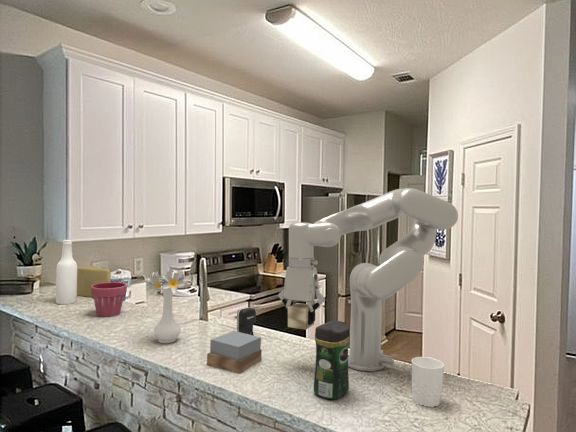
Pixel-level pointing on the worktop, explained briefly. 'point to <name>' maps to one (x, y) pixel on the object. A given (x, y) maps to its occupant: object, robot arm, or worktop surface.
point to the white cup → (427, 380)
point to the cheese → (90, 279)
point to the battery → (246, 320)
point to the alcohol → (66, 276)
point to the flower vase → (166, 304)
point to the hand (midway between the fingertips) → (301, 321)
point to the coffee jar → (331, 360)
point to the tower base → (233, 362)
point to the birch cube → (298, 316)
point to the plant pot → (108, 298)
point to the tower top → (235, 345)
